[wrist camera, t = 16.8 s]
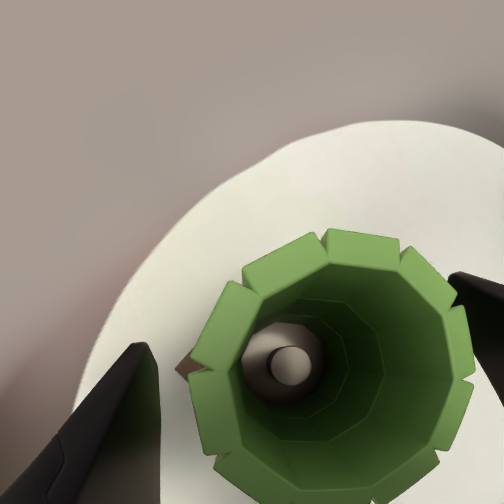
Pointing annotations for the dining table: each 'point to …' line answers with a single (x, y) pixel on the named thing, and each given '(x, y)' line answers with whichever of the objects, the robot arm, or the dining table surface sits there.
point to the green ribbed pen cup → (337, 373)
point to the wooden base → (278, 363)
